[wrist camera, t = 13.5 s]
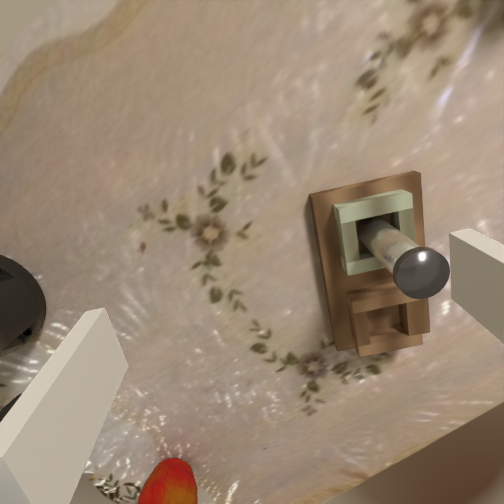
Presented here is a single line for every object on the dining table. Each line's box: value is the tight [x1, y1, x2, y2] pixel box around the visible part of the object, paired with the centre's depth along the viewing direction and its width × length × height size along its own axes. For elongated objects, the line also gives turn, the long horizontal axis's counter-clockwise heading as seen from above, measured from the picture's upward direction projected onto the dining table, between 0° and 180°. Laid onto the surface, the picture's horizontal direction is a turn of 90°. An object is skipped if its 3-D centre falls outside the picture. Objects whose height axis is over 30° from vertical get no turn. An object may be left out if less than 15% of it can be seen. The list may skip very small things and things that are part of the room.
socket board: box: [309, 171, 430, 357], centre depth 52 cm, size 14×24×5 cm, turn 12°
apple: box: [138, 458, 198, 504], centre depth 60 cm, size 9×9×12 cm
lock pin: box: [356, 216, 450, 299], centre depth 43 cm, size 5×5×15 cm
